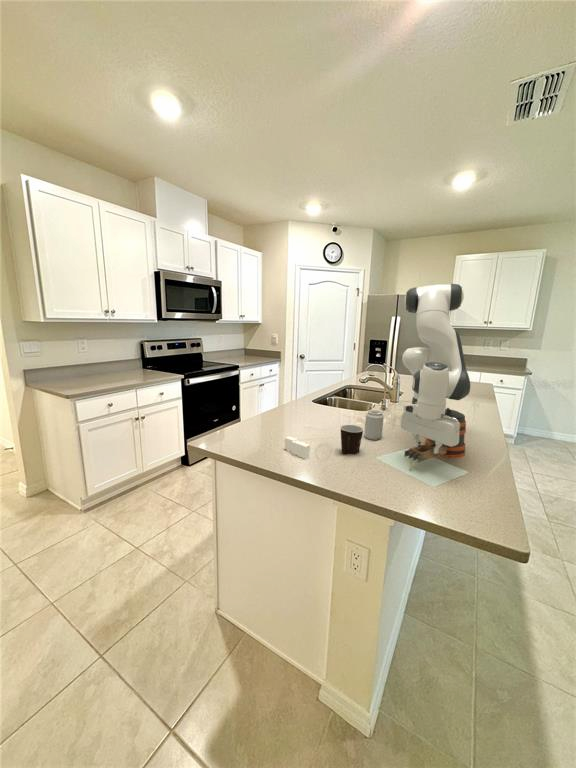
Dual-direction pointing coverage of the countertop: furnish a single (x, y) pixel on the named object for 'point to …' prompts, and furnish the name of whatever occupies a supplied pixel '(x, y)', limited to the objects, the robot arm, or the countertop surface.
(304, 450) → the napkin holder
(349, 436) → the coffee mug
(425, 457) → the dark brown long piece
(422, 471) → the wall panel
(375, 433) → the can
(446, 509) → the countertop surface
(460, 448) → the striped backpack
